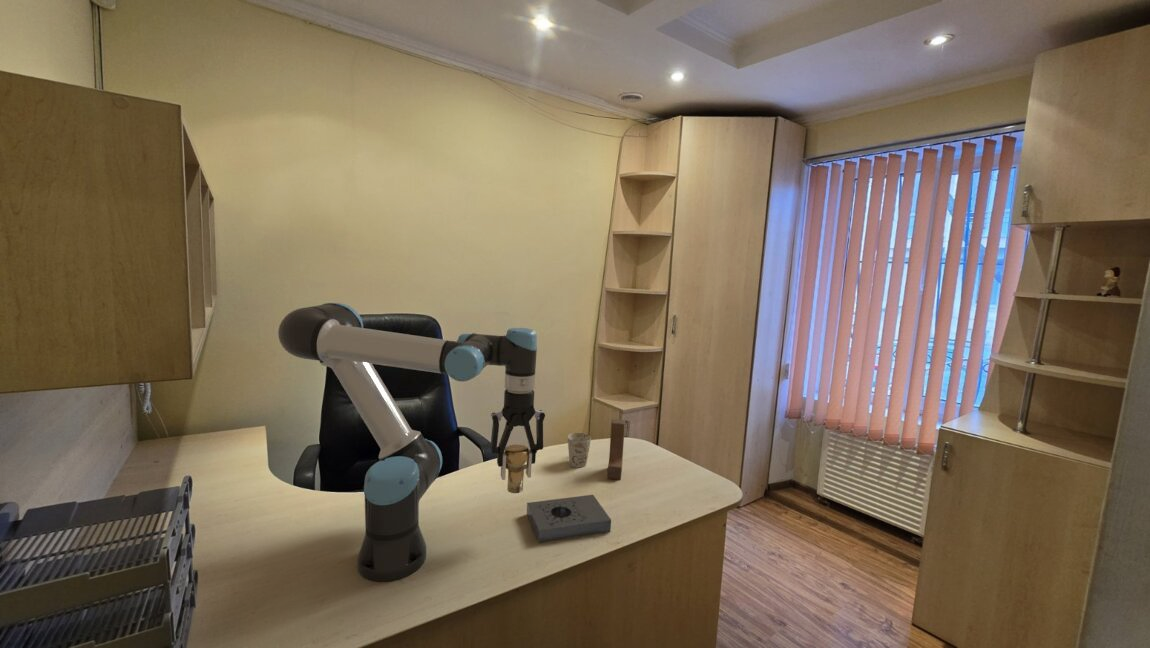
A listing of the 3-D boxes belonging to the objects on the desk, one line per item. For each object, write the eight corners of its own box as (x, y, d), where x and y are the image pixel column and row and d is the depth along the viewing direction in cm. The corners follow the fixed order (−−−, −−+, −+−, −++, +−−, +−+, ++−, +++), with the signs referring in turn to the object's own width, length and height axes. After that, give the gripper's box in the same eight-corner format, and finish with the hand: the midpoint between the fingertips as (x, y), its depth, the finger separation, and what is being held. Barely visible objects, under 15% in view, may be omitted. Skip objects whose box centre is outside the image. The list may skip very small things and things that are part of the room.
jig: (538, 543, 120) (538, 530, 120) (526, 514, 133) (527, 502, 133) (610, 531, 127) (611, 519, 126) (592, 505, 140) (592, 494, 139)
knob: (505, 496, 118) (507, 454, 116) (501, 485, 123) (503, 445, 122) (529, 493, 120) (530, 453, 118) (524, 482, 125) (525, 443, 124)
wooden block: (620, 480, 157) (623, 428, 154) (607, 478, 157) (610, 427, 155) (622, 468, 165) (625, 419, 163) (609, 467, 166) (612, 418, 164)
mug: (564, 467, 164) (565, 440, 163) (570, 453, 177) (571, 427, 175) (587, 470, 163) (589, 442, 162) (592, 455, 175) (593, 430, 174)
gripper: (483, 395, 111) (480, 486, 114) (559, 392, 117) (554, 479, 121) (479, 386, 118) (476, 473, 122) (551, 384, 124) (547, 466, 128)
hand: (515, 476), depth 121 cm, fingers closed on knob, 6 cm apart
